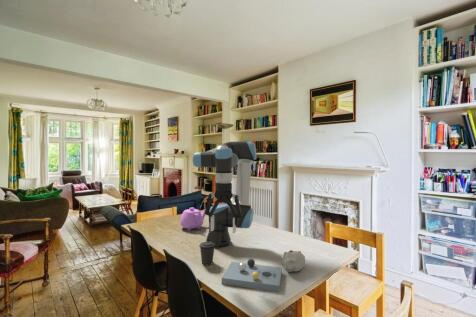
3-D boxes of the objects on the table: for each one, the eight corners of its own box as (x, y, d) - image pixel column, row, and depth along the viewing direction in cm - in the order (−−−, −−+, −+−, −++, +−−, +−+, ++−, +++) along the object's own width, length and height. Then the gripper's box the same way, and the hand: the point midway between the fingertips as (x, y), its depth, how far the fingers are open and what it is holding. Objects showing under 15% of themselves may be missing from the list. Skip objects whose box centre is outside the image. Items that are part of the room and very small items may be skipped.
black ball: (246, 267, 112) (246, 260, 112) (248, 264, 115) (248, 256, 115) (254, 268, 111) (254, 260, 111) (255, 265, 115) (255, 257, 115)
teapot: (213, 229, 176) (213, 208, 176) (187, 234, 165) (187, 212, 165) (201, 222, 192) (201, 203, 192) (177, 227, 181) (177, 206, 181)
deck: (221, 283, 103) (221, 277, 103) (231, 266, 118) (231, 261, 118) (279, 291, 97) (279, 285, 97) (281, 272, 113) (281, 267, 112)
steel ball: (237, 272, 107) (237, 264, 107) (239, 268, 111) (239, 261, 111) (245, 273, 107) (245, 265, 107) (246, 269, 110) (246, 262, 110)
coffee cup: (217, 260, 125) (217, 240, 125) (212, 267, 117) (212, 246, 117) (202, 258, 127) (202, 239, 127) (196, 265, 119) (196, 245, 119)
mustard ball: (251, 280, 101) (251, 273, 101) (252, 277, 104) (252, 270, 103) (258, 281, 100) (258, 274, 100) (259, 277, 103) (259, 270, 103)
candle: (286, 275, 109) (278, 264, 124) (310, 274, 110) (299, 264, 125) (285, 255, 110) (277, 246, 125) (309, 254, 111) (299, 245, 126)
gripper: (197, 182, 109) (197, 231, 110) (246, 184, 104) (245, 236, 104) (203, 180, 116) (203, 226, 117) (249, 182, 111) (249, 230, 112)
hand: (223, 231), depth 111 cm, fingers open, 10 cm apart
